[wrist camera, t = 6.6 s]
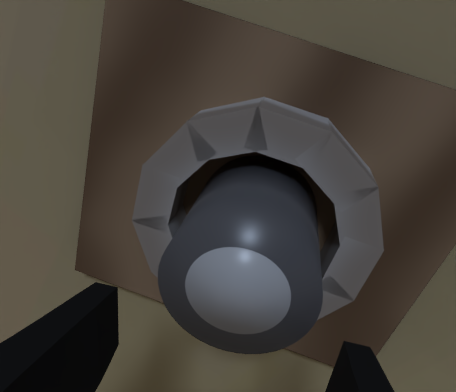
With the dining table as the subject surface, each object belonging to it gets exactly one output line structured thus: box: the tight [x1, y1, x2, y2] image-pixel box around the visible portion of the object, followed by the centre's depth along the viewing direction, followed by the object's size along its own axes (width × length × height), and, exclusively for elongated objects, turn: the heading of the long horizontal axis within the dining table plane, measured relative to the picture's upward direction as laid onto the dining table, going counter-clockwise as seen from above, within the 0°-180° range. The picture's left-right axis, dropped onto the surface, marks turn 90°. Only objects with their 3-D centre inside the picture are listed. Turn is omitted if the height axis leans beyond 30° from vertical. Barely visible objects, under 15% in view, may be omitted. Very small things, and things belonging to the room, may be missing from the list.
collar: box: [75, 0, 456, 367], centre depth 15 cm, size 16×14×3 cm
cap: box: [158, 156, 323, 354], centre depth 13 cm, size 5×5×6 cm
